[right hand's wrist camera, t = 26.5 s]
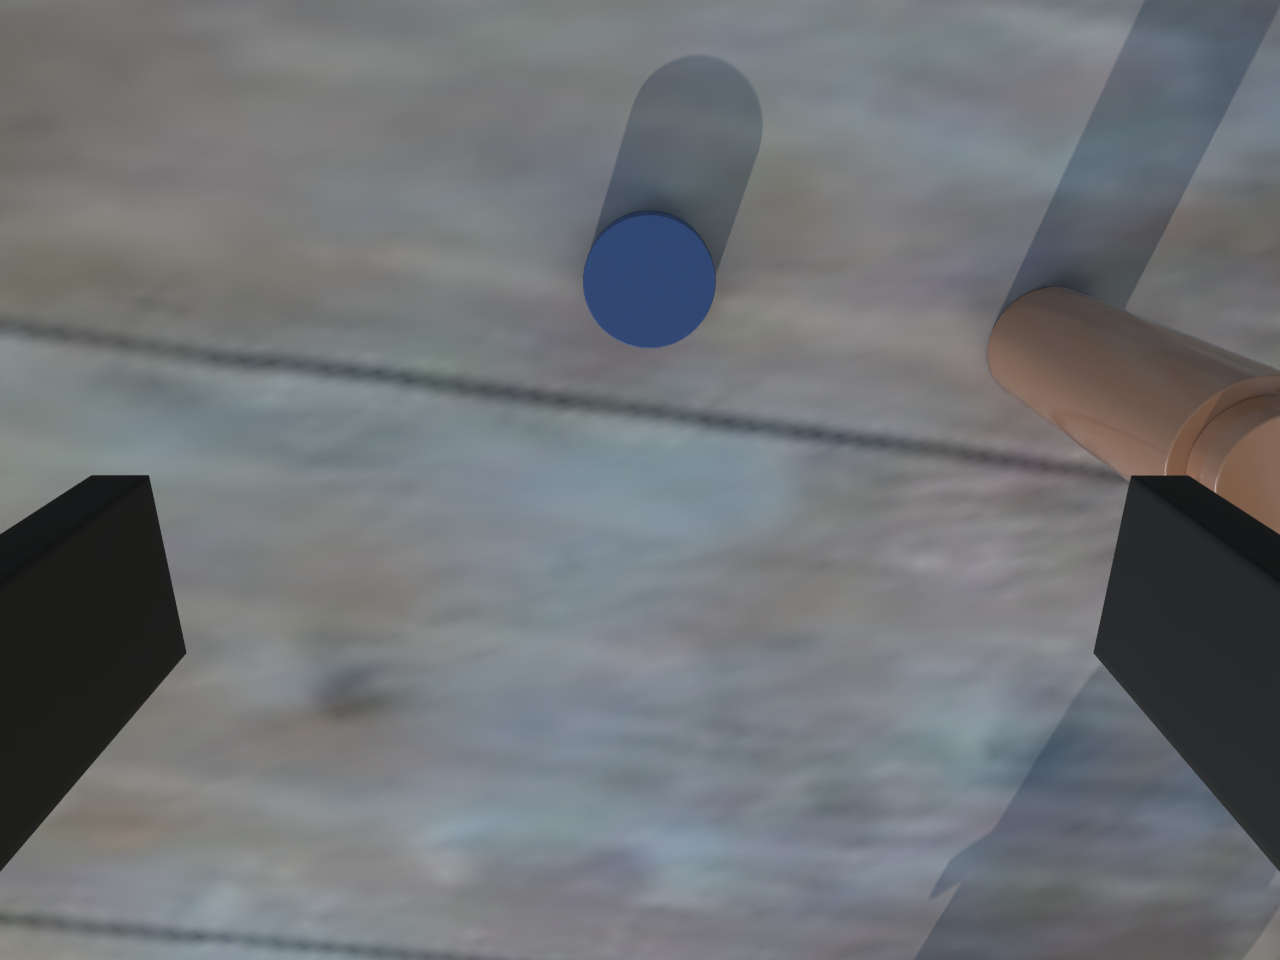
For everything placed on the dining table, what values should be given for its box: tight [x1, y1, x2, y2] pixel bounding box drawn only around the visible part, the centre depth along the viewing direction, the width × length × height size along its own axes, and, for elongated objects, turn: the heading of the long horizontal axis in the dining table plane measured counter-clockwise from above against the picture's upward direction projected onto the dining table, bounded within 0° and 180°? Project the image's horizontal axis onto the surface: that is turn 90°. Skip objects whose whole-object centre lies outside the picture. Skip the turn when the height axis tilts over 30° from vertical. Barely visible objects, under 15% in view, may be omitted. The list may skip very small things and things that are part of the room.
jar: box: [988, 287, 1280, 534], centre depth 31 cm, size 5×5×15 cm
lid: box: [583, 211, 716, 348], centre depth 36 cm, size 5×5×2 cm
